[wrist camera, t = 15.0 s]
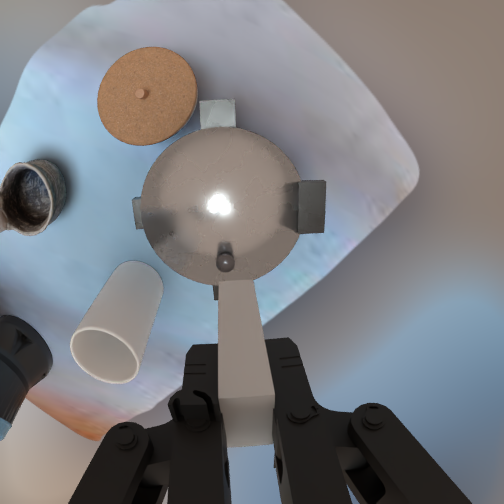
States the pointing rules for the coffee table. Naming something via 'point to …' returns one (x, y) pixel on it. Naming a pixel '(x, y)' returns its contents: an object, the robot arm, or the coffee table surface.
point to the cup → (118, 324)
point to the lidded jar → (147, 96)
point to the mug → (31, 197)
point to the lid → (227, 205)
